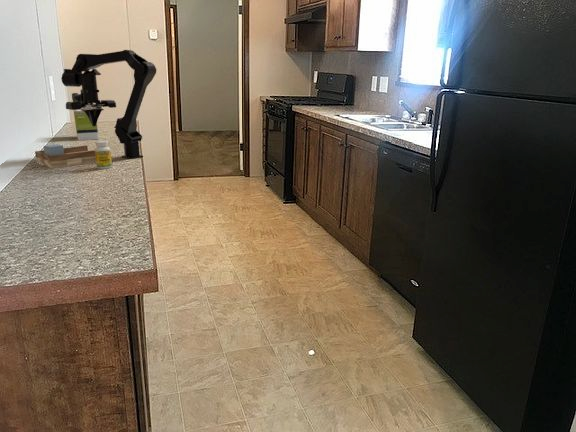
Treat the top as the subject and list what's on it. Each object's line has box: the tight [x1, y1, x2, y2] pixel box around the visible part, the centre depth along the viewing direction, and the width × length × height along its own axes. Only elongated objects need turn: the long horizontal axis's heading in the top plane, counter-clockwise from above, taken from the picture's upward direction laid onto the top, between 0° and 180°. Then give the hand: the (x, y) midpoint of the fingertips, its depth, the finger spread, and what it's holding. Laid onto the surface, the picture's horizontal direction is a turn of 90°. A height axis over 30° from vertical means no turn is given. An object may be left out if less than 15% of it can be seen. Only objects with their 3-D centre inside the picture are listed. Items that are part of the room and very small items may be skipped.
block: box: [43, 143, 65, 156], centre depth 174 cm, size 5×5×5 cm
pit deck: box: [34, 145, 96, 169], centre depth 182 cm, size 14×20×4 cm
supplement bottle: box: [94, 140, 113, 170], centre depth 172 cm, size 5×5×10 cm
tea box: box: [73, 108, 100, 141], centre depth 240 cm, size 15×10×15 cm
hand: (93, 126), depth 193 cm, fingers closed
